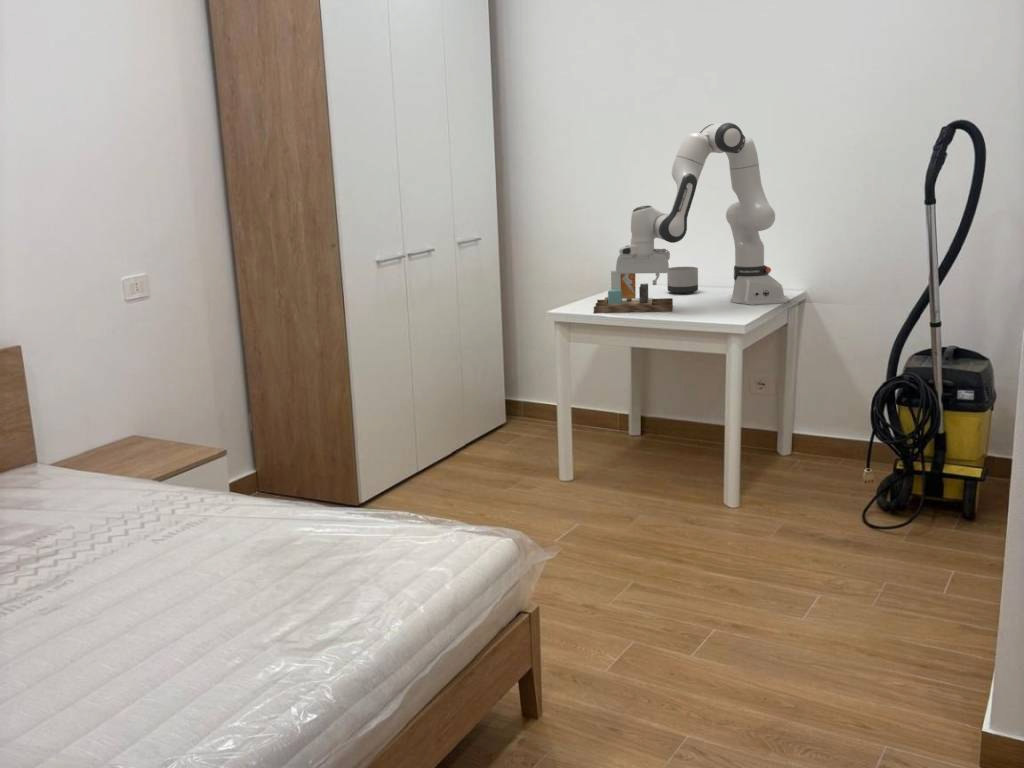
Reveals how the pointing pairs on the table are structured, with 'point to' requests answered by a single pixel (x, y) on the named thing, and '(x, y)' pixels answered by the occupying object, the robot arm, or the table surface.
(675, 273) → the planter
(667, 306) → the lane board
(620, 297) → the teal cube
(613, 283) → the small box
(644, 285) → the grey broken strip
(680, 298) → the table surface
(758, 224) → the robot arm
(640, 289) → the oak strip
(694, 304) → the table surface
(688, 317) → the table surface
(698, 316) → the table surface
